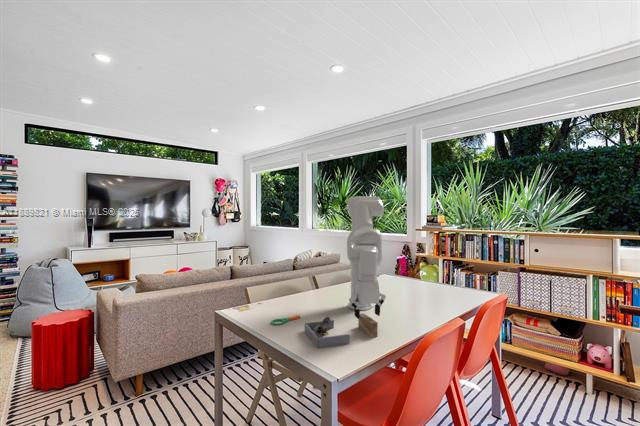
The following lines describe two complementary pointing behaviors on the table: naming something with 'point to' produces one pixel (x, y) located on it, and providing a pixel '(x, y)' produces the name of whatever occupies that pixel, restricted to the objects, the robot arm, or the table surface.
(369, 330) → the brown rectangular block
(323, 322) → the eagle figurine
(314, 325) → the grey bent bar
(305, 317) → the table surface
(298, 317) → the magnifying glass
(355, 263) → the robot arm
